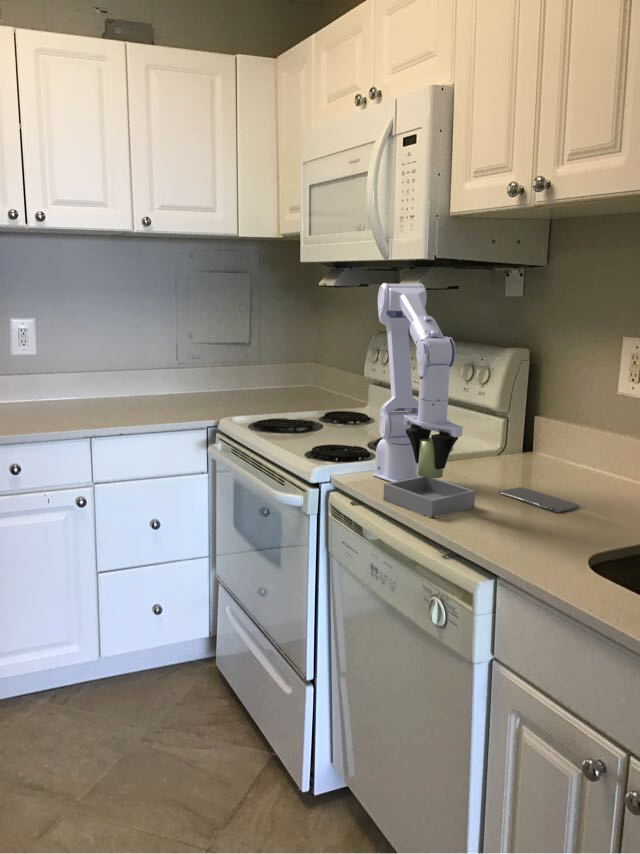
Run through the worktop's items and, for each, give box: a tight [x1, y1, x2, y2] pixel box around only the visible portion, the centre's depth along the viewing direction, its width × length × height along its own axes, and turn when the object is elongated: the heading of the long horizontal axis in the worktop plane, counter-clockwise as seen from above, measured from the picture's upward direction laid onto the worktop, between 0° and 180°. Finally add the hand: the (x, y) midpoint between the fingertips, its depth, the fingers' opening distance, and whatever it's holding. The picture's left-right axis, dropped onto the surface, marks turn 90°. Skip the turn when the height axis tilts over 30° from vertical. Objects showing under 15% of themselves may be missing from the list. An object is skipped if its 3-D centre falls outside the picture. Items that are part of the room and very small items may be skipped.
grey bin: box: [382, 476, 476, 519], centre depth 149 cm, size 14×12×4 cm
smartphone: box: [498, 486, 581, 514], centre depth 153 cm, size 7×1×16 cm
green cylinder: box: [417, 438, 444, 479], centre depth 148 cm, size 5×5×7 cm
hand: (430, 465), depth 148 cm, fingers closed on green cylinder, 5 cm apart
